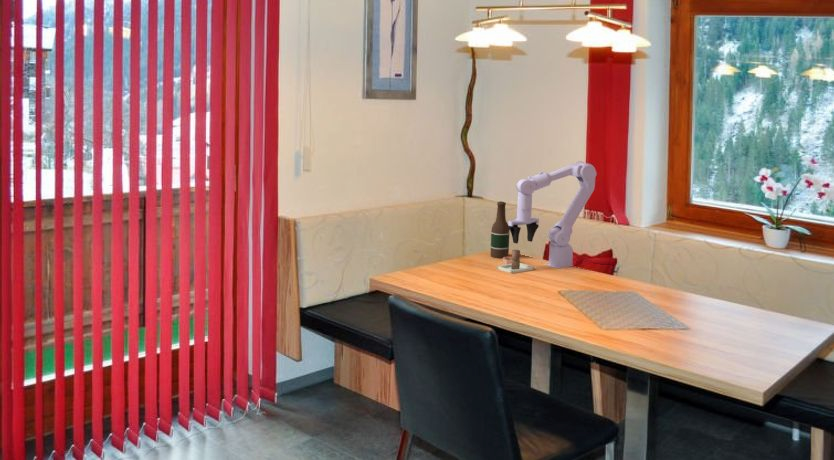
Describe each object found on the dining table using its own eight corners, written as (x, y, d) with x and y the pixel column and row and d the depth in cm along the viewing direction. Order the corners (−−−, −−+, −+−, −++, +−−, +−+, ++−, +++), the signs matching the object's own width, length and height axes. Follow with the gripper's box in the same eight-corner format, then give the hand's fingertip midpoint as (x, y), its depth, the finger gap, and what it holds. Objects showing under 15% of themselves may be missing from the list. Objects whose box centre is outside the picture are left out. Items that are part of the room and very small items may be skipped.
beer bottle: (506, 255, 380) (509, 200, 376) (509, 259, 373) (512, 203, 368) (489, 255, 380) (491, 200, 375) (491, 259, 372) (493, 203, 368)
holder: (511, 261, 369) (511, 256, 368) (521, 265, 364) (521, 259, 363) (499, 263, 365) (499, 257, 365) (509, 266, 360) (509, 260, 360)
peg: (516, 267, 357) (516, 249, 355) (520, 269, 354) (521, 251, 352) (509, 268, 355) (510, 250, 353) (514, 270, 352) (515, 251, 351)
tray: (519, 266, 361) (519, 262, 361) (534, 271, 354) (534, 267, 354) (496, 269, 355) (496, 266, 354) (511, 274, 347) (511, 270, 347)
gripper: (531, 206, 363) (529, 238, 365) (504, 208, 355) (502, 242, 357) (543, 208, 357) (541, 241, 360) (515, 211, 349) (513, 245, 352)
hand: (522, 242), depth 358 cm, fingers open, 7 cm apart
